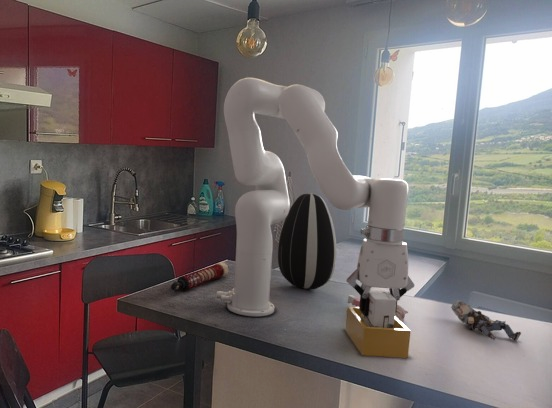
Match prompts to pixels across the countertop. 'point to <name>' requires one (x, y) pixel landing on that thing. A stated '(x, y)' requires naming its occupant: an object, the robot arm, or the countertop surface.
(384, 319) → the ink box
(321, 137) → the robot arm
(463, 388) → the countertop surface
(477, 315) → the toy
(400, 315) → the toy
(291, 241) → the sunflower seed
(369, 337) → the holder
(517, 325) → the countertop surface
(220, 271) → the shock absorber
